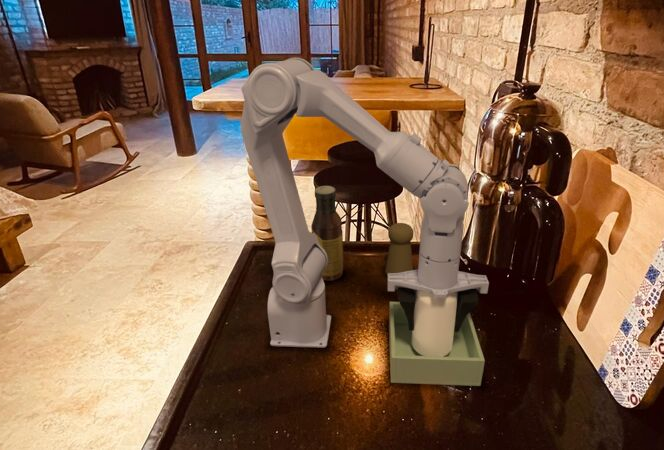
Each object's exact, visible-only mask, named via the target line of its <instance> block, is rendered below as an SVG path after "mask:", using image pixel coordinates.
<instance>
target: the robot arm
mask: <svg viewBox="0 0 664 450" xmlns="http://www.w3.org/2000/svg"><path fill="white" fill-rule="evenodd" d="M240 90H241V93H242V96H243V99H244V102H243V107H242V114H241V120H240V132H241V136H242V140H243V144H244V146H245V149H246V152H247V156H248V159H249V163H250V165H251V168H252V172H253V175H254V178H255V181H256V185H257V187H258V191H259V194H260V198H261V201H262V204H263V207H264V210H265V214H266V216H267V220H268V223H269V226H270V229H271V230H270V231H271V233H272V236H273V240H274V242H275V243H274V250H273V255H272V258H271V267H272V271H273V277H272V282H271V283H272V287H271V288H270V289H269V292H268V298H267V319H268V325H269V334H270V342H269V344H270V347H286V348H287V347H288V348H316V349H317V348H319V349H324V348H326V347H327V346H328V342H329V335H330V328H331V323H332V315H330V314H327V305H326V304H327V301H326V300H327V299H326V285H325V282H324V280H323V278H322V272H323V271H324V270H325V269H326V267H327V265H328V256H327V254H326V252H325V250H324V249H323V248H322V247H321V246H320V244H319V242H318V239H317V236H316V235H315V234H313V233H312V231H310V230H309V227H308V223H307V220H306V216H305V212H304V209H303V205H302V202H301V197H300V194H299V191H298V187H297V183H296V179H295V176H294V172H293V168H292V165H291V160H290V157H289V153H288V150H287V146H286V142H285V139H284V135H283V134H284V132H285V130H286V128H287V127H288V126H289V124H290V123H291V121H292V120H293V118H294V117H295V116H296V117H297V118H298V117H299V118H323V119H326V120H328V121H329V122H331V123H332V124H333V125H334V126H336V127H338V128H339V129H340V130H341V131H343V132H344V133H346V134H347V135H349V136H350V137H352V138H353V139H355V140H356V141H357V142H359V143H360V144H361V145H362V146H364V147H366V148H367V149H369V150H370V151H371V152H373V153H374V154H373V155H374V157H375V164H376V167H377V168H378V169H380V170H381V171H382V172H383V173H385V174H386V175H387V176H389V177H390V178H391V179H393V181H394V182H396V183H398V184H399V185H400V186H401V187H402V188H404V189H405V190H406V191H408V192H409V193H410V194H411V195H412V196H414V197H416V198H419V199H420V200H419V201H420V206H421V209H422V211H423V218H422V220H421V225H420V239H419V251H418V267H417V269H413V270H412V271H406V272H401V273H388V275H387V283H386V284H387V292H396V290H397V300H398V302H399V303H400V305H401V306H402V308H403V310H404V312H405V314H406V317H407V320H408V326H409V330H410V331H413V330H414V308H415V293H414V290H419V291H424V292H428V293H432V295H433V297H435V298H446V297H448V293H453V292H457V293H458V297H457V308H456V317H455V326H454V332H459V329H460V327H461V325H462V323H463V321H464V319H465V318H466V316H467V315H468V314H469V312H470V313H471V312H472V311H473V310H474V309H475V308H476V307H477V306H478V303H479V296H478V293H479V294H484V295H485V294H488V292H489V285H490V282H489V280H488V277H487V275H485V274H484V275H483V274H475V273H469V272H465V271H459V269H460V268H459V267H460V260H461V255H462V254H461V253H462V244H463V237H464V230H465V229H464V228H465V225H464V220H465V214H466V212H467V210H468V209H469V204H470V203H469V184H468V179H467V177H466V174H465V173H464V172H463V171H462V170H461V169H460V167H459V165H456V164H453V163H450V162H449V161H448V160H447V159H446V158H443V159H440V158H438V157H437V156H436V155H435V154H434V153H432V152H431V151H430V150H429V149H427V148H426V147H425V146H424V145H422V144H421V141H422V137H420V135H418V134H417V133H415V132H413V133H412V135H410V134H409V133H407V132H406V131H404V130H402V131H390V130H389V129H387V128H386V127H385V126H384V125H383V124H381V122H379V120H377V119H376V118H375V117H374V116H373V115H372V114H370V113H369V112H368V111H367V110H366V109H365V108H364V107H362V106H361V105H360V104H359V103H358V102H357V101H356V100H354V99H353V98H352V97H351V96H350V95H349V94H348V93H347V92H346V91H344V90H343V89H342V88H341V87H340V86H339V85H337V84H336V83H335V81H333V80H332V79H331V78H330V77H329V75H327V74H326V73H325V72H323V71H321V70H320V69H318V68H316V69H315V67H314V66H313V65H312V64H311V63H310V62H309V61H308V60H305V59H304V58H302V57H290V58H287V59H285V60H281V61H277V62H264V63H261V64H259V65H258V66H256V67H255V68H254V69H253V70H252V71H251V73H250V74H249V75H248V77H247V79H246V80H245V82H244V83H243V85H242V86H241V89H240Z"/></svg>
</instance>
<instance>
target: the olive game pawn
mask: <svg viewBox="0 0 664 450" xmlns="http://www.w3.org/2000/svg"><path fill="white" fill-rule="evenodd" d="M387 236H388V239H389V240H390V241H389V248H388V254H387V259H386V265H385V269H384V273H385V275H387V276H388V273H401V272H406V271H412V270H414V265H413V253H412V244H411V243H412V242H411V241H412V240H413V238H414V229H413V227H412V226H411V225H410V224H407V223H405V222H395V223H393V224H391V226H389V227H388V231H387Z"/></svg>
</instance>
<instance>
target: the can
mask: <svg viewBox="0 0 664 450" xmlns="http://www.w3.org/2000/svg"><path fill="white" fill-rule="evenodd" d="M414 293H415V308H414V330H413V331H412V346H413V348H414V349H415V350H416V351H417V352H418V353H419V354H420V355H422V356H439V357H444V356H446V355H447V354H448V353H449V352H450V351H451V350H452V344H453V335H454V326H455V317H456V308H457V297H458V293H457V292H453V293H448V297H446V298H435V297H433V295H432V293H428V292H424V291H419V290H415V289H414Z"/></svg>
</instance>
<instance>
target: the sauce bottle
mask: <svg viewBox="0 0 664 450" xmlns="http://www.w3.org/2000/svg"><path fill="white" fill-rule="evenodd" d="M336 191H337V190H336V188H335V187H334V186H331V185H320V186H318V187H316V188H315V189H314V197H315V205H316V207H315V213H314V216H313V219H312V222H311V225H310V227H311V233H313V234H315V235H316V236H317V239H318V242H319V244H320V246H321V247H322V248H323V249H324V250H325V252H326V254H327V256H328V265H327V267H326V269H325V270H324V271H323V272H322V278H323V281H326V282H333V281H337V280H339V279H340V278H341V277H342V276H343V274H344V238H343V236H344V235H343V233H344V232H343V222H342V218H341V215H339V213H338V212H337V210H336V209H337V206H336V196H337V193H336Z"/></svg>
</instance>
